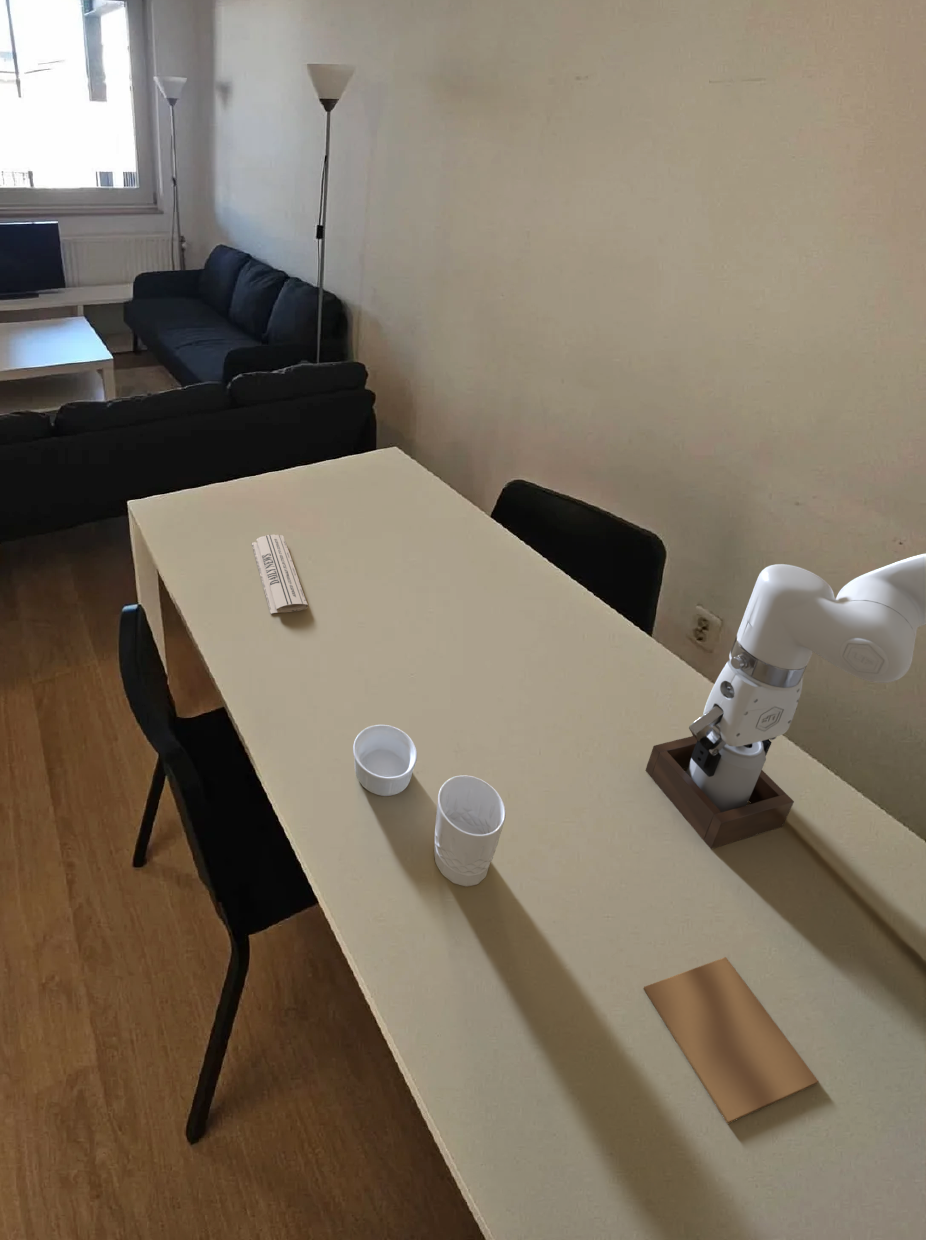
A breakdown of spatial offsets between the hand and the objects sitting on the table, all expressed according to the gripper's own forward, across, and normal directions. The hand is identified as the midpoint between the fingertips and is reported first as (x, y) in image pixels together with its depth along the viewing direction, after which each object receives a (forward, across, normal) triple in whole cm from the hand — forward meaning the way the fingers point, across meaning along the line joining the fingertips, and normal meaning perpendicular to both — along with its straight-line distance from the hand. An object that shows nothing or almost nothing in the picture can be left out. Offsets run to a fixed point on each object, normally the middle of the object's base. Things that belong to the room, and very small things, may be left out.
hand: (726, 760), depth 90 cm
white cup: (+7, -38, +1) cm, 39 cm away
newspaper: (+7, -47, +63) cm, 79 cm away
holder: (+7, 0, 0) cm, 7 cm away
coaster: (+7, -20, -22) cm, 31 cm away
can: (+8, 0, 0) cm, 8 cm away
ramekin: (+7, -43, +15) cm, 46 cm away
